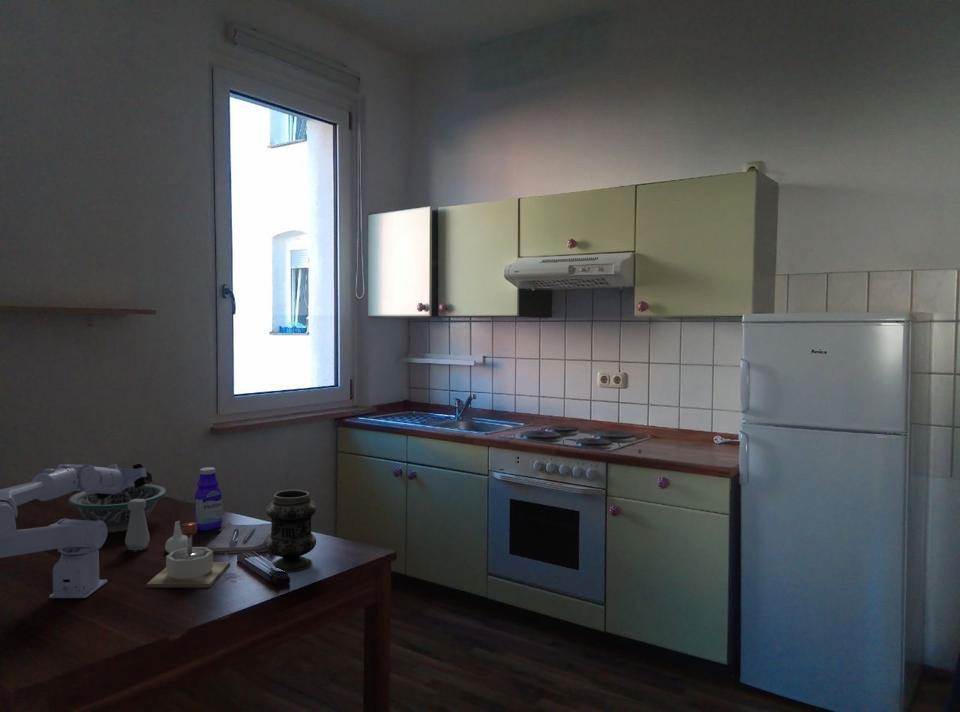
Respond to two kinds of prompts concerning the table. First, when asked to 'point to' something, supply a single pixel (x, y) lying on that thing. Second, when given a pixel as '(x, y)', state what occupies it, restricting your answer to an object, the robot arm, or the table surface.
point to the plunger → (189, 543)
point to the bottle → (208, 501)
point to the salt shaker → (137, 526)
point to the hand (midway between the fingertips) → (136, 482)
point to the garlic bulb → (176, 539)
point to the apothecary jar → (291, 529)
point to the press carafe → (189, 565)
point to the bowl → (116, 505)
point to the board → (203, 581)
